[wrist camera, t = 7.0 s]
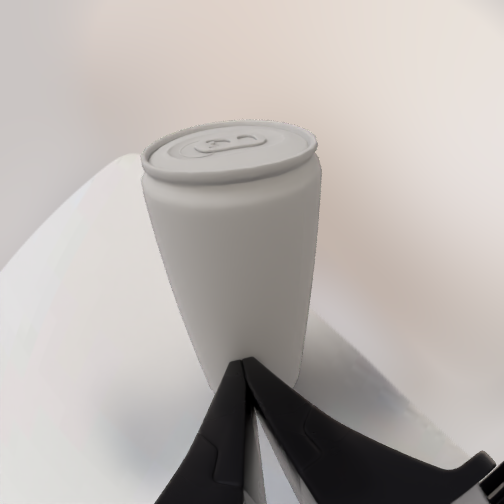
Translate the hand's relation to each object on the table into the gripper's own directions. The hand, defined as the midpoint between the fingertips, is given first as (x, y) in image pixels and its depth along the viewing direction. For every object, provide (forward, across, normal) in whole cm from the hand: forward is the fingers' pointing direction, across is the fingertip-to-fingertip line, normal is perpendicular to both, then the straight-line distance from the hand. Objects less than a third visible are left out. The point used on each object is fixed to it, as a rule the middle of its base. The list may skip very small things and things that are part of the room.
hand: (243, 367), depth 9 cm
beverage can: (+4, 0, -5) cm, 6 cm away
